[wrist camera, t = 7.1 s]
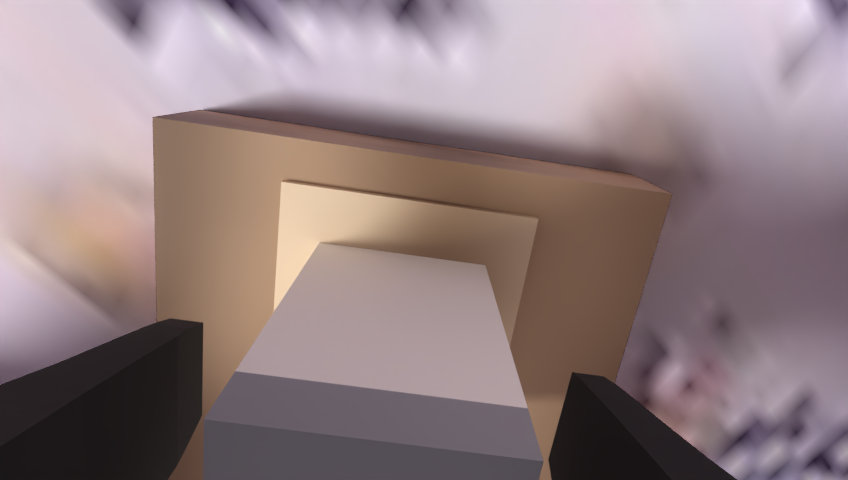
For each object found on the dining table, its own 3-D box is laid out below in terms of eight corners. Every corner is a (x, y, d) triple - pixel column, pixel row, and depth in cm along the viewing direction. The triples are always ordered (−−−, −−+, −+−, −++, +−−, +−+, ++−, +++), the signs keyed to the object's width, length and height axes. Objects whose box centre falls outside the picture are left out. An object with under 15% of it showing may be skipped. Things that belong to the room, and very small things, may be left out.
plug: (307, 385, 13) (201, 657, 7) (319, 242, 12) (203, 419, 6) (458, 405, 13) (483, 687, 7) (485, 264, 12) (543, 461, 6)
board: (196, 591, 19) (160, 671, 17) (200, 109, 14) (147, 117, 11) (506, 627, 20) (517, 710, 17) (631, 174, 14) (676, 195, 12)
